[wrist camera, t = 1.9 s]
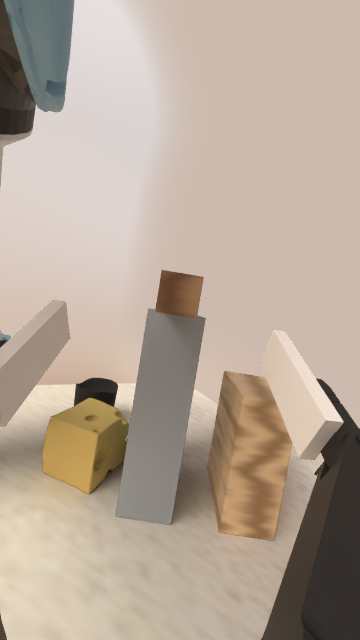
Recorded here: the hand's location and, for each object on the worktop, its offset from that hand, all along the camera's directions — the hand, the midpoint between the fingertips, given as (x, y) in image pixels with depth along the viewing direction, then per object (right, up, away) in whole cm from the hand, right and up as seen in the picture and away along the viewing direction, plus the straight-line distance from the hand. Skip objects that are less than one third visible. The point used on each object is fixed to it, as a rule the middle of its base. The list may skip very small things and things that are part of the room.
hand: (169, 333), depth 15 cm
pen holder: (-20, -24, +41) cm, 52 cm away
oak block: (+10, -30, +26) cm, 41 cm away
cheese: (-16, -26, +27) cm, 41 cm away
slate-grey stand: (-5, -27, +26) cm, 38 cm away
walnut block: (0, +2, +20) cm, 20 cm away
